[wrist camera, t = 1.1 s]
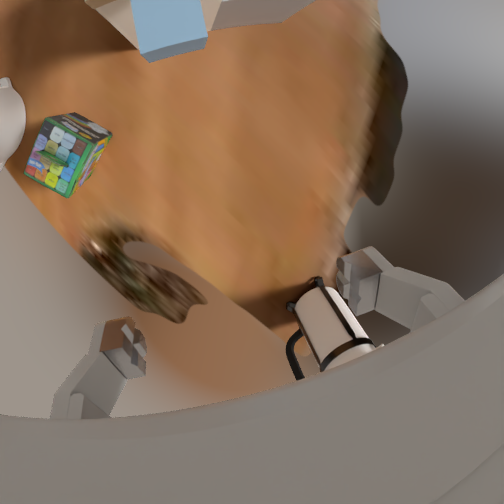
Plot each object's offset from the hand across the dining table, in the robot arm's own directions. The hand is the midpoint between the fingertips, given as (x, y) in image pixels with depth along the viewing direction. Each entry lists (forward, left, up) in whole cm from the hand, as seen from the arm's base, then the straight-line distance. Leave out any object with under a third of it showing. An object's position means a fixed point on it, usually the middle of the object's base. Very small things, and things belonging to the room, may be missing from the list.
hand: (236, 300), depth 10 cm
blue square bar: (-9, +19, -13) cm, 25 cm away
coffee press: (+34, -33, -40) cm, 61 cm away
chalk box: (-20, -3, -40) cm, 45 cm away
